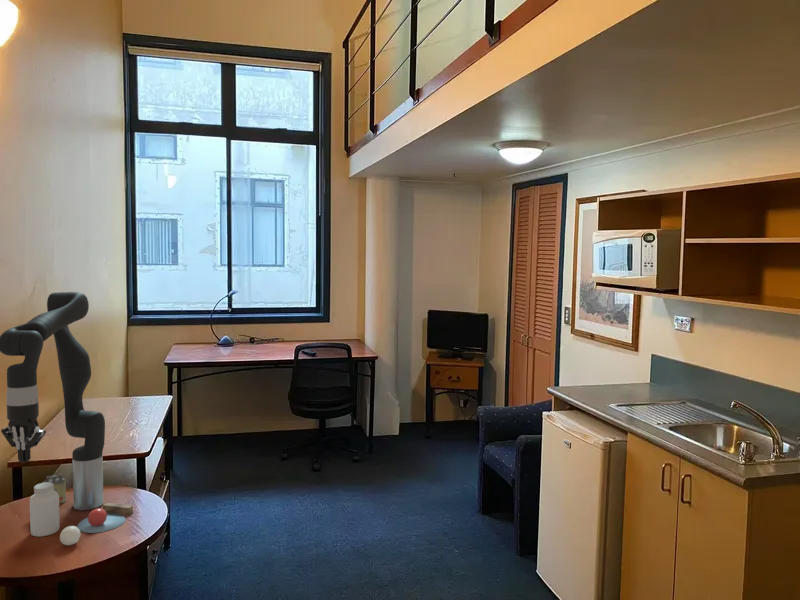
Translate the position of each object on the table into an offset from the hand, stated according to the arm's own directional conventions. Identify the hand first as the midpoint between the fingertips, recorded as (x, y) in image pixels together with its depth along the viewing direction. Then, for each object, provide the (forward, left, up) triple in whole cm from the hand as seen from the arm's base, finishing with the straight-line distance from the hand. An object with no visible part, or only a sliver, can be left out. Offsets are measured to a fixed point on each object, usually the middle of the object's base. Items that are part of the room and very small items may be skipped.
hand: (24, 461), depth 167 cm
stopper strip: (-18, +29, -29) cm, 44 cm away
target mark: (-13, +22, -29) cm, 39 cm away
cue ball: (-3, +12, -26) cm, 29 cm away
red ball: (-12, +21, -26) cm, 36 cm away
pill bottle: (-17, +7, -29) cm, 35 cm away
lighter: (-39, +13, -29) cm, 50 cm away
